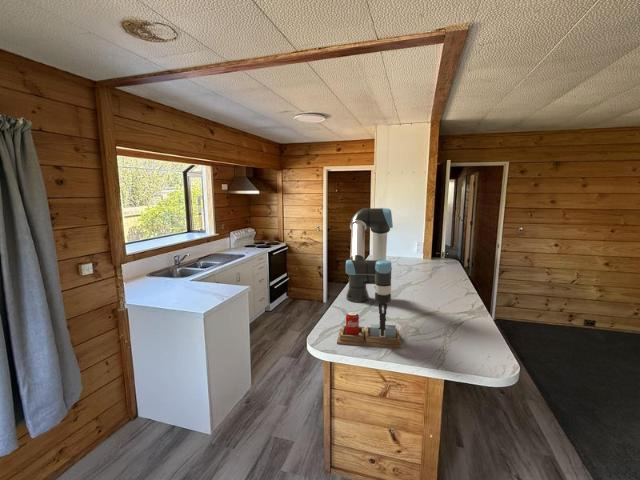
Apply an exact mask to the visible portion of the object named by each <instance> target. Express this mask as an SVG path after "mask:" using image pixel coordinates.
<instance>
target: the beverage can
mask: <svg viewBox="0 0 640 480" xmlns="http://www.w3.org/2000/svg"><path fill="white" fill-rule="evenodd" d="M359 316H360V315H359V314H358V312H357V311H354V310H353V311H352V310H350V311H348V312H347V313H346V315H345V326H346V335H356V336H358V335H359V327H360V325H359V323H360V322H359V321H360V319H359Z"/></svg>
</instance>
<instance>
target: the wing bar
mask: <svg viewBox="0 0 640 480" xmlns="http://www.w3.org/2000/svg"><path fill="white" fill-rule="evenodd" d="M369 327H370V337H379V334H380V329H378V328H380V325H379V324H378V323H377V324H376V323H371V324H370V326H369ZM385 328H386V329H385V338H396V329H397V328H396V325H393V324H392V325H391V324H385Z"/></svg>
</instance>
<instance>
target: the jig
mask: <svg viewBox="0 0 640 480" xmlns="http://www.w3.org/2000/svg"><path fill="white" fill-rule="evenodd" d="M370 327H371V326H366V327H365V326H359V335H358V336H356V335H346V325H343V324H342V325H341V328H339V332H338V336H337V340H336V344H337V345H348V346H360V347H361V346H363V347H373V348H374V347H375V348H387V349H389V348H391V349H402V345H401V336H400V331H399V329H398V328H396V338H385V337H370Z"/></svg>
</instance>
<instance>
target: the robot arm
mask: <svg viewBox="0 0 640 480" xmlns="http://www.w3.org/2000/svg"><path fill="white" fill-rule="evenodd" d="M367 228H368V229H370V231H371V232H372V255H371V257H372V260H371V259H370V260H368V259H365V250H366V249H365V244H366V242H365V240H366V239H365V234H366V232H365V231H366V230H367ZM392 228H394V227H393V216H392V209H390V208H385V207H379V208H378V207H377V208H373V207H372V208H371V207H370V208H368V207H364V208H361V209H359V210H358V211H356V212H355V214H354V215H352V217H351V219H350V223H349V229H350V230H351V234H350V235H351V236H350V250H349V251H350V252H349V253H350V255H349V259H346V260H345V273H346V274H347V275H348V289H347V292H346V295H345V299H346V300H347V301H349V302H353V303H364V302H367V301H369V298H370V295H369V292H368V288H367V285H373V288H374V291H375V292H374V300H375V301H376V302H378V311H379V312H378V314H379V325H380V328H378V329H380V334H379V337H385V329H386V328H385V325H386V321H387V318H386V316H387V309H388V303H389V302H391V300H392V270H393V267H392V262H391V261H390V260H387V246H388V245H387V244H388V233H389V232H390V231H391V229H392Z"/></svg>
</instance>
